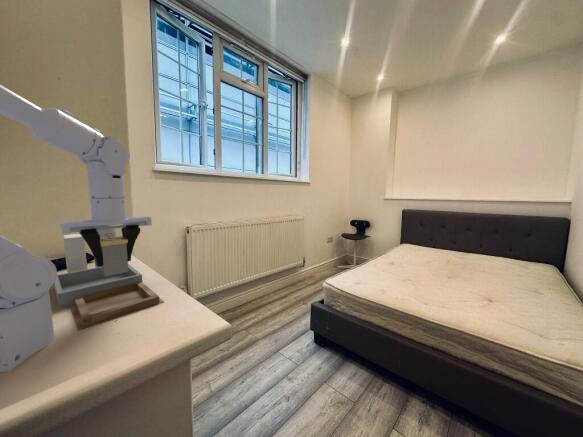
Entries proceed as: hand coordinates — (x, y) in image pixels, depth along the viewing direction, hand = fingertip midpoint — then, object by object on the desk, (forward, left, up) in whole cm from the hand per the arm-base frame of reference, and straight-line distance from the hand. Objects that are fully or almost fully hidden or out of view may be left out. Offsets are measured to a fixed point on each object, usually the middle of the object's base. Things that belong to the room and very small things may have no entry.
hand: (114, 262), depth 49 cm
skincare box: (+22, +21, -10) cm, 32 cm away
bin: (+10, +9, -10) cm, 17 cm away
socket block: (0, 0, -10) cm, 10 cm away
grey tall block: (0, 0, -2) cm, 2 cm away
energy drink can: (+29, +17, -10) cm, 35 cm away
